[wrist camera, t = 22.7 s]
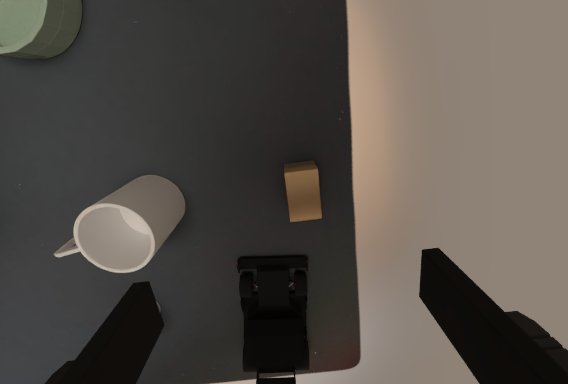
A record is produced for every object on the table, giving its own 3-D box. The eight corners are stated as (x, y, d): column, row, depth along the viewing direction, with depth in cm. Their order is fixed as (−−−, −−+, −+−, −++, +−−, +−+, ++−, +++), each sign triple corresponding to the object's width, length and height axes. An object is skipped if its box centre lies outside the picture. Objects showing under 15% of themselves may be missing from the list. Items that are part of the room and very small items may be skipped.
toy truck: (307, 253, 41) (313, 286, 34) (306, 352, 48) (311, 395, 41) (237, 256, 41) (229, 288, 34) (246, 354, 48) (241, 398, 41)
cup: (88, 191, 37) (23, 225, 28) (170, 167, 36) (132, 193, 27) (117, 242, 40) (67, 289, 31) (194, 221, 39) (167, 262, 30)
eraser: (283, 163, 36) (284, 172, 32) (313, 159, 36) (318, 168, 32) (289, 208, 39) (290, 222, 34) (317, 204, 39) (322, 218, 34)
